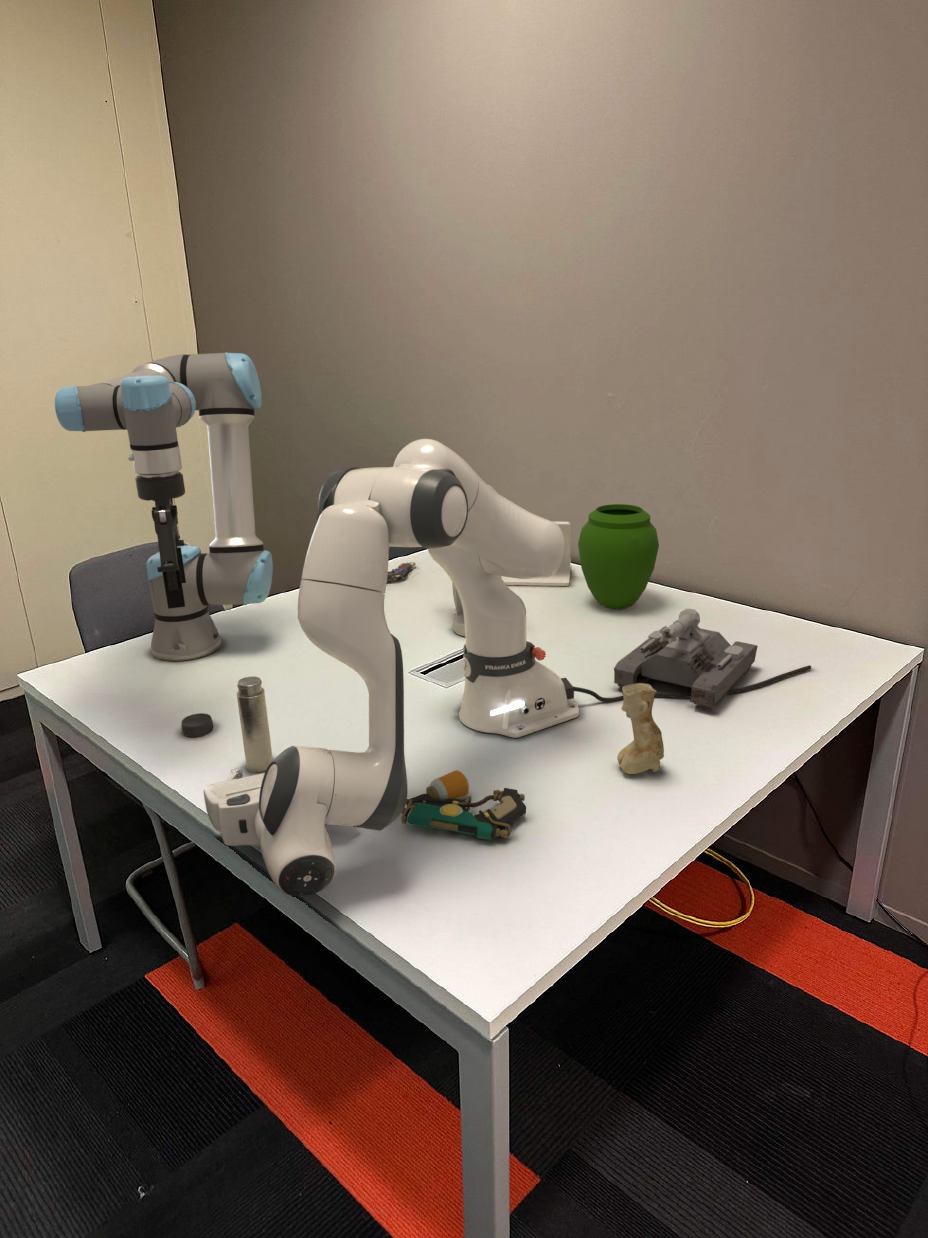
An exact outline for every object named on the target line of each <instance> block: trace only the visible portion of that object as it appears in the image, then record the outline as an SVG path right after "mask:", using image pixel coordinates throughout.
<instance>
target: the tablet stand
mask: <svg viewBox="0 0 928 1238" xmlns="http://www.w3.org/2000/svg"><path fill="white" fill-rule="evenodd" d="M554 522H555V523H557V524H558V525H559V527H560V528H561V530H562V532H563V534H564V537H565V542H566V552H565V557H564V560H563V562H562V564H561V566H560V567H559V569H558V570H557V571H556V572H555V573H554V574H553V575H552V576H550V577H548V578H537V579H518V578H511V577H504V576H501V578H502V580H503V581H504V583H505V584H506V586H541V587H542V586H543V587H544V586H545V587H546V586H547V587H549V586H551V587H556V586H557V587H569V586H570V580H571V579H570V578H571V565H572V564H571V560H572V558H571V522H569V521H554Z"/></svg>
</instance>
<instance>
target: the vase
mask: <svg viewBox="0 0 928 1238" xmlns="http://www.w3.org/2000/svg"><path fill="white" fill-rule="evenodd" d="M587 516H588V517H587V518H588V521H587V522H586V523H585V524H584V525H583V526H582V527H581V529H580V534H579V538H578V541H577V546H578V554H579V562H580V569H581V571H582V574H583V577H584V580H585V583H586V585H587V588H588V590H589V591H590V594H592V597H593V598H594V600H595V601H596V602H597V603H598V604H599V605H600V606H602V607H604V608H606V609H609V610H625V609H628V608H630V607H632V606H634V604H636V602H638V601H639V599H640V597H641V596H642V595H643V593H644V592H645V590H646V588H647V586H648V584H649V581H650V579H651V577H652V574H653V572H654V570H655V566H656V562H657V557H658V552H659V548H660V544H659V543H660V542H659V537H658V531H657V528H656V527H655V526H654V524H653V523H652V522H651V515H650V514H649V512H647V511H645V510H644V509H643V508H642V507H641V506H638V505H633V504H622V503H621V504H619V503H616V504H615V503H614V504H604V505H601V506H598V507H597V508H595V509H594V510H592V511H591V512H590V513H589V514H588V515H587Z"/></svg>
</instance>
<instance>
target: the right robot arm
mask: <svg viewBox="0 0 928 1238" xmlns="http://www.w3.org/2000/svg"><path fill="white" fill-rule="evenodd" d="M487 484H488V483H486V482H485V480H483V479H482V478H481V477H480V476H479V474H478V473H477V472H476V471H475V470H474V469H473V468H472V466H470V464H469V463H468V462H467V461H466V460H464V458H463V457H461V456H460V455H459V454H458V453H456V451H454V450H453V449H451V448H450V447H449V446H446V445H445V444H443V443H442V442H440V441H438V440H435V439H432V438H420V439H416V440H413V441H411V442H409V443H408V444H406V445H405V446H404V447H403V448H402V449H400V451H399V453H398V454H397V456H396V458H395V459H394V462H393V466H389V467H387V466H386V467H385V466H381V467H379V466H378V467H377V466H376V467H363V468H361V467H359V466H351V467H345V468H341V469H338V470H336V471H333V472H332V473H331V474H330V475H329V476H328V477H327V478H326V480H325V482H324V483H323V484H322V486H321V488H320V491H319V494H318V499H317V510H318V516H319V517H318V519H317V521H316V524H315V525H314V529H313V532H312V535H311V537H310V541H309V544H308V546H307V547H308V548H307V552H306V555H305V559H304V564H303V568H302V574H301V578H300V584H299V591H298V598H297V620H298V624H299V626H300V628H301V630H302V632H303V634H304V635H305V637H306V638H307V639H308V640H309V641H310V642H311V643H312V644H313V645H314V646H315V647H316V648H317V649H319V650H320V651H321V652H323V653H324V654H326V655H328V656H330V657H332V658H334V659H335V660H337V661H339V662H341V663H342V664H344V665H345V666H347V667H348V668H350V669H352V670H353V671H354V672H356V673H357V674H358V675H359V676H360V677H361V679H362V680H363V682H364V683H365V685H366V688H367V692H368V693H367V694H368V747H367V749H366V750H365V751H361V752H356V751H349V750H348V751H347V750H346V751H345V750H336V749H328V748H323V747H313V746H298V745H297V746H296V745H290V746H289V747H287V748H285V749H284V750H283V751H281V752H280V753H279V754H278V755H277V756H275V758H273V761H272V762H271V763H270V764H269V766H268V767H267V769H266V771H264V772H263V773H259V774H258V773H257V774H254V775H249V776H245V777H244V773H243V769H242V767H238V768H233V769H231V775H230V776H228V778H227V779H226V780H225V781H220V782H216V783H210V784H209V785H207V786H206V787H204V789H203V799H204V805H205V809H206V813H207V816H208V819H209V821H210V822H211V825H212V826H213V828H214V829H215V830H216V831H218V832H220V835H221V838H222V841H223V843H224V845H225V846H229V847H236V846H257V847H258V846H259V847H260V852H261V855H262V858H263V859H262V860H263V861H264V865H265V868H266V870H267V873H268V875H269V876H270V878H271V880H272V882H273V883H274V885H275V886H276V887H277V888H278V889H279V890H280V891H281V892H282V893H284V894H286V895H288V896H295V897H307V896H311V895H315V894H317V893H319V892H321V891H323V890H324V889H326V888H327V887H328V886H329V885H330V884H331V883H332V882H333V880H334V878H335V876H336V871H337V864H336V858H335V857H336V856H335V852H334V848H333V845H332V844H333V843H332V841H331V838H330V835H329V833H328V829H327V827H326V825H330V826H346V827H347V826H348V827H353V828H358V829H364V830H371V831H378V832H379V831H382V830H384V829H385V828H387V827H389V826H390V825H391V824H393V823H394V822H395V821H396V820H397V819H398V818H399V817H401V816H402V812H403V811H404V809H405V808H406V807H407V805H406V802H407V799H408V792H409V791H408V790H409V789H408V788H409V787H408V776H407V766H406V759H405V684H404V683H405V681H404V679H405V678H404V677H405V676H404V660H403V651H402V647H401V643H400V641H399V639H398V637H396V636H395V635H394V634H393V633H391V631H390V629H389V626H388V622H387V618H386V613H385V612H386V611H385V598H386V591H387V583H388V580H387V574H388V572H389V557H390V556H389V555H390V548H391V547H392V548H394V547H395V548H424V549H426V550H427V551H428V554H429V556H430V557H431V558H432V560H433V561H435V562H436V563H437V564H438V565H439V566H440V567H441V568H442V569H443V570H444V572H445V573H446V575H447V576H448V577H449V578H450V580H451V583H452V582H453V584H454V586H455V588H456V590H457V592H458V594H459V597H460V600H461V603H462V607H463V613H464V623H465V636H464V638H465V639H464V640H465V644H464V645H463V650H462V651H463V656H462V666H463V667H462V668H463V674H464V689H463V694H462V695H463V696H462V702H461V705H460V710H459V712H458V718H459V721H460V722H461V723H462V724H463V725H464V726H466V727H467V728H469V729H471V730H475V731H477V732H482V733H488V734H498V735H499V734H500V735H502V736H506V737H509V738H514V739H515V738H516V739H517V738H522V737H524V736H527V735H529V734H533V733H534V732H535V733H536V732H538V731H541V730H544V729H547V728H550V727H554V726H555V725H559V724H561V723H564V722H567V721H570V720H572V719H573V720H574V719H576V718H578V717H579V716H580V707H579V705H578V703H577V701H576V700H575V692H576V693H577V692H578V693H582V694H587V695H590V696H592V697H594V698H595V699H596V700H597V701H599V702H603V703H614V702H615V703H616V702H620V701H623V700H624V694H623V695H620V696H615V697H603V696H601V695H599V694H598V693H597V692H595V691H594V690H592V689H588V688H583V687H578V686H574V685H573V684H572V683H571V682H570V681H569V680H568V678H567V677H560V676H559V675H558V674H557V673H556V672H555V671H554V670H552V669H550V667H547V666H546V665H545V664H543V663H542V661H543V660H545V658H546V657H547V653H546V651H545V650H544V649H543V648H541V647H539V646H535V644H533V643H532V642H530V641H528V640H527V608H526V605H525V603H524V601H523V599H522V598H521V597H520V596H519V595H518V593H517V594H516V593H515V592H514V591H513V590H512V589H510V588H509V587H508V585H506V584H505V583H504V581H503V580H502V578H501V576H504V577H511V578H518V579H537V578H548V577H550V576H552V575H553V574H554V573H555V572H556V571H557V570H558V569H559V567H560V566H561V564H562V562H563V560H564V557H565V552H566V542H565V537H564V534H563V532H562V530H561V528H560V527H559V525H558V524H557V523H555V522H556V521H552V520H549V519H547V518H545V517H542V516H539V515H537V514H535V513H532V512H530V511H528V510H527V509H525V508H523V507H521V506H520V505H518V504H516V503H514V502H513V501H512V500H510V499H508V498H506V497H504V496H503V495H501V494H500V493H498V492H497V491H496V492H497V493H498V494H497V493H496V492H494V491H493V490H492V489H490V488H489V487H488V485H489V484H488V485H487ZM540 661H541V662H540ZM811 669H812V665H810V664H809V665H805V666H802V667H799V668H797V669H792V670H790V671H787V672H784V673H782V674H781V673H780V674H777V675H776V676H773V677H770V678H768V679H766V680H763V681H759V682H757V683H753V684H749V685H745V686H741V687H737V688H732V689H731V690H729V691H728V694H727V695H732V694H737V693H741V692H746V691H749V690H753V689H757V688H759V687H763V686H766V685H768V684H771V683H773V682H776V681H777V682H778V681H779V680H781V679H784V678H785V679H786V678H788V677H790V676H794V675H797V674H800V673H802V672H806V671H809V670H811ZM691 693H692V692H662V691H661V692H660V691H656V694H655V696H654V697H664V698H691Z"/></svg>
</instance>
